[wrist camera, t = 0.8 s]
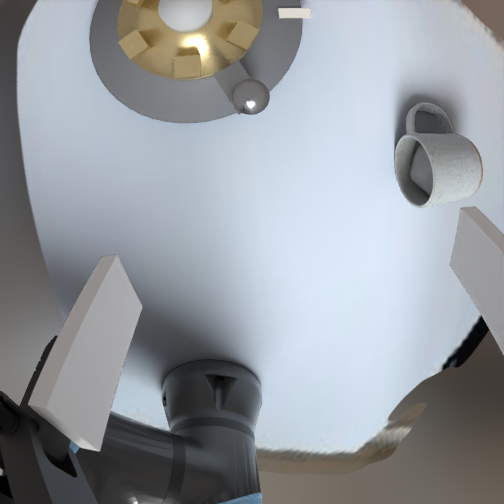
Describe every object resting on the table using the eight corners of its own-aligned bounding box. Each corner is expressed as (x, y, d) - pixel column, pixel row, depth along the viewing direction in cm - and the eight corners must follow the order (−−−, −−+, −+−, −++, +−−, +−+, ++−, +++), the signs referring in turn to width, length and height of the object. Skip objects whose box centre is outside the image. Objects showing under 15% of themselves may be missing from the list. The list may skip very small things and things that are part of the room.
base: (160, 160, 30) (144, 178, 24) (65, 18, 22) (31, 5, 15) (335, 61, 27) (364, 54, 20) (232, -81, 18) (235, -115, 12)
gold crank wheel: (106, 14, 21) (66, -10, 13) (216, -51, 19) (215, -96, 11) (193, 142, 28) (181, 160, 20) (306, 78, 26) (338, 72, 18)
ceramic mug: (448, 186, 34) (487, 207, 27) (394, 195, 34) (430, 219, 27) (445, 101, 29) (488, 107, 22) (387, 102, 29) (427, 106, 22)
